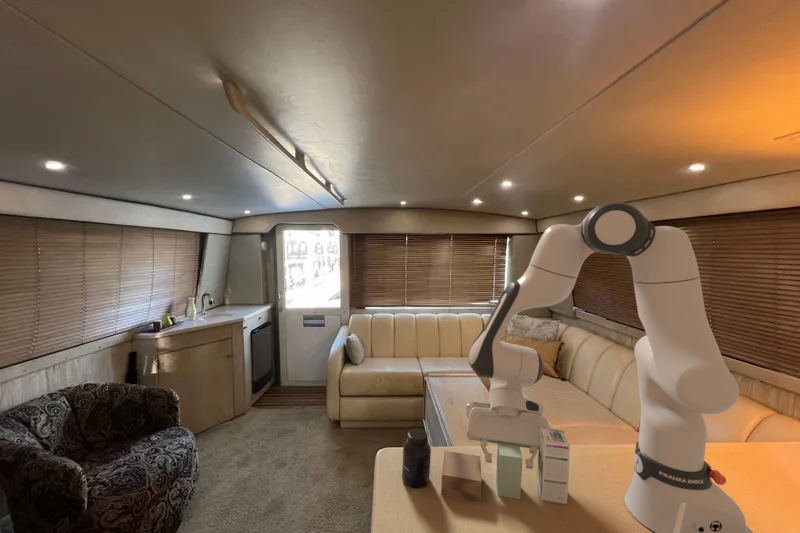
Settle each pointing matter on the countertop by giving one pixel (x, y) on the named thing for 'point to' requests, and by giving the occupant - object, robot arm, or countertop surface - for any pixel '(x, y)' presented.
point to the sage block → (509, 470)
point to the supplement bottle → (416, 459)
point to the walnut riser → (461, 476)
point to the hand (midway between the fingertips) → (508, 465)
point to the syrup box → (553, 465)
